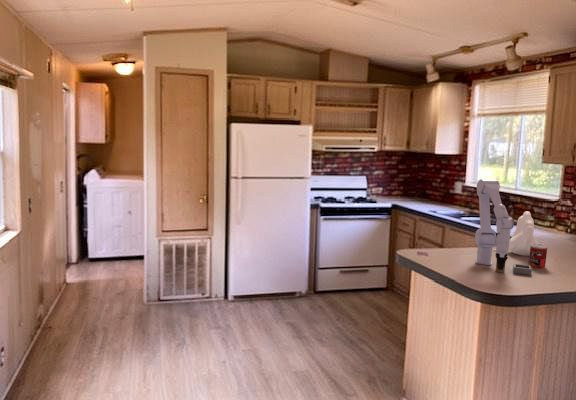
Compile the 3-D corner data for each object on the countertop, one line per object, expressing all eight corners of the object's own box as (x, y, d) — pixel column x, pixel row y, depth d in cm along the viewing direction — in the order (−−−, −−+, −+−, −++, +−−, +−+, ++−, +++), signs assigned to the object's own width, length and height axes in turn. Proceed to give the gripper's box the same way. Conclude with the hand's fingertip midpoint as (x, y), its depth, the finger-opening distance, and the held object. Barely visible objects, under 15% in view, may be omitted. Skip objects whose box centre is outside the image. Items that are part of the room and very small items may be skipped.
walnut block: (495, 269, 258) (496, 258, 257) (504, 270, 257) (505, 259, 256) (495, 271, 255) (496, 259, 254) (504, 272, 253) (505, 261, 252)
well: (512, 269, 260) (513, 263, 260) (529, 271, 257) (530, 265, 257) (513, 273, 253) (513, 267, 252) (530, 275, 250) (531, 269, 249)
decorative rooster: (508, 249, 308) (512, 208, 304) (537, 253, 300) (542, 211, 297) (504, 257, 286) (509, 213, 282) (535, 262, 278) (540, 216, 275)
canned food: (525, 265, 270) (527, 244, 269) (536, 264, 274) (538, 244, 272) (537, 269, 263) (539, 248, 262) (548, 268, 267) (550, 247, 265)
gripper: (494, 238, 262) (491, 264, 264) (494, 243, 248) (491, 270, 250) (509, 239, 259) (506, 265, 261) (510, 245, 246) (507, 272, 248)
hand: (500, 268), depth 255 cm, fingers closed on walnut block, 4 cm apart
